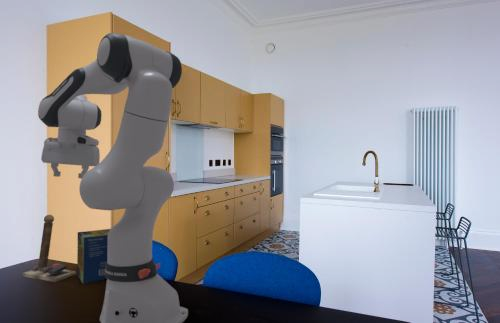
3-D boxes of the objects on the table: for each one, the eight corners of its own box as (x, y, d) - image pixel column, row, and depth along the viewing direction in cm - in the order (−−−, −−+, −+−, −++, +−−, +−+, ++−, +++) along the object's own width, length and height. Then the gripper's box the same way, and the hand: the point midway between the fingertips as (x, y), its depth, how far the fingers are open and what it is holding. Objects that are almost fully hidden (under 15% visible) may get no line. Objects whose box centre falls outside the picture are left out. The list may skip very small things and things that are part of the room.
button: (62, 268, 121) (62, 263, 121) (55, 270, 118) (55, 265, 119) (56, 267, 122) (56, 262, 122) (50, 270, 119) (50, 264, 119)
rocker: (66, 268, 118) (66, 265, 118) (54, 274, 114) (54, 271, 114) (60, 267, 119) (60, 264, 119) (48, 273, 115) (48, 270, 115)
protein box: (76, 275, 119) (76, 231, 119) (121, 268, 128) (121, 227, 128) (82, 284, 110) (82, 237, 110) (129, 275, 119) (130, 231, 120)
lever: (49, 270, 121) (56, 215, 123) (41, 271, 118) (48, 215, 120) (42, 269, 122) (50, 214, 125) (34, 270, 119) (42, 214, 122)
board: (75, 274, 120) (76, 267, 120) (55, 282, 112) (56, 274, 112) (43, 269, 125) (43, 262, 125) (22, 276, 118) (22, 268, 118)
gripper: (38, 136, 118) (35, 175, 118) (93, 140, 116) (90, 180, 116) (50, 137, 124) (48, 175, 124) (103, 141, 122) (100, 179, 122)
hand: (69, 177), depth 120 cm, fingers open, 8 cm apart
